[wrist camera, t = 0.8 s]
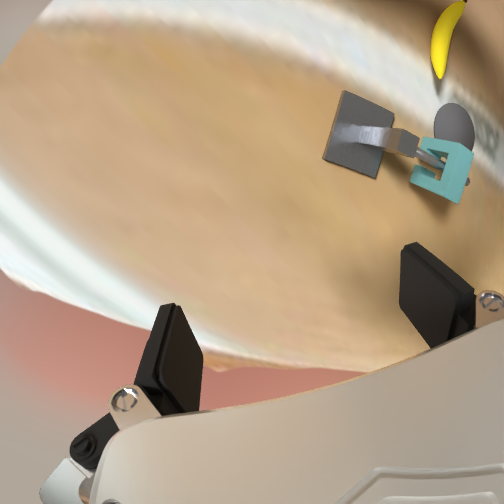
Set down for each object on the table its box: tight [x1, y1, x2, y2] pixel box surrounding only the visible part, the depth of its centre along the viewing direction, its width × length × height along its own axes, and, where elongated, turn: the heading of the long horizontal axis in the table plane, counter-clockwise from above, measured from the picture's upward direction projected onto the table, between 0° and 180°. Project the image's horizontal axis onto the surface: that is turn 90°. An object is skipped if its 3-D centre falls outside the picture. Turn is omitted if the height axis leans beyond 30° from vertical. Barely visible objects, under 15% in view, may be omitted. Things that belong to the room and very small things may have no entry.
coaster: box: [434, 103, 475, 159], centre depth 34 cm, size 10×10×1 cm
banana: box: [430, 0, 467, 80], centre depth 25 cm, size 3×19×6 cm, turn 157°
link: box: [409, 137, 474, 204], centre depth 30 cm, size 7×3×8 cm, turn 165°
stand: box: [322, 90, 470, 186], centre depth 30 cm, size 10×18×11 cm, turn 75°
